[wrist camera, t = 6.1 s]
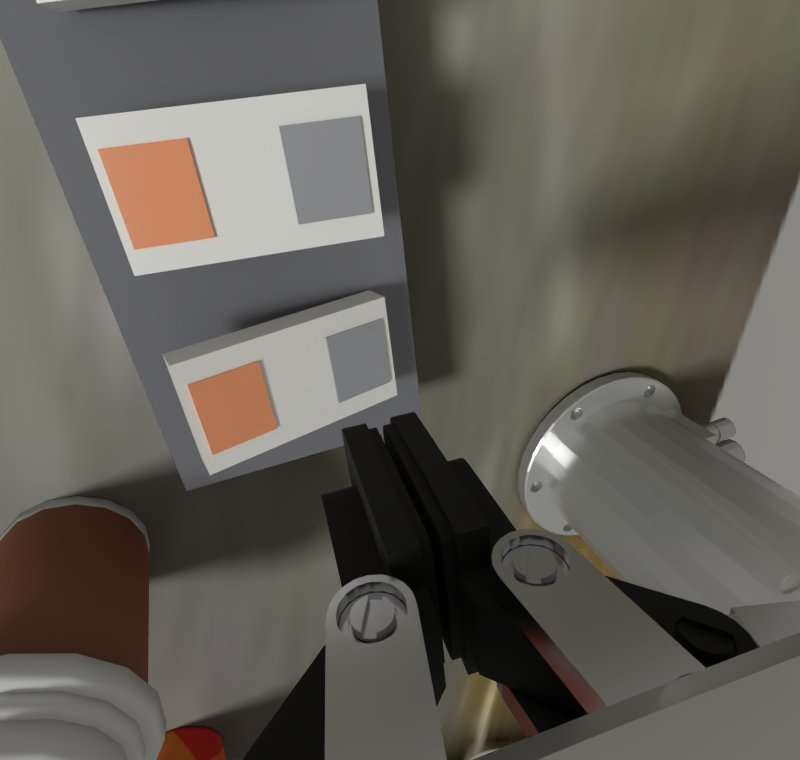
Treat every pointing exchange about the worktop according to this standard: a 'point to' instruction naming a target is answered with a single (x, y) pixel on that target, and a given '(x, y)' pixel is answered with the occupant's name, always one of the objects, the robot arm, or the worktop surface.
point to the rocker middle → (237, 176)
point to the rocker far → (283, 377)
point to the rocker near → (83, 3)
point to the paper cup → (192, 744)
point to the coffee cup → (76, 635)
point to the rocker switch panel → (200, 83)
